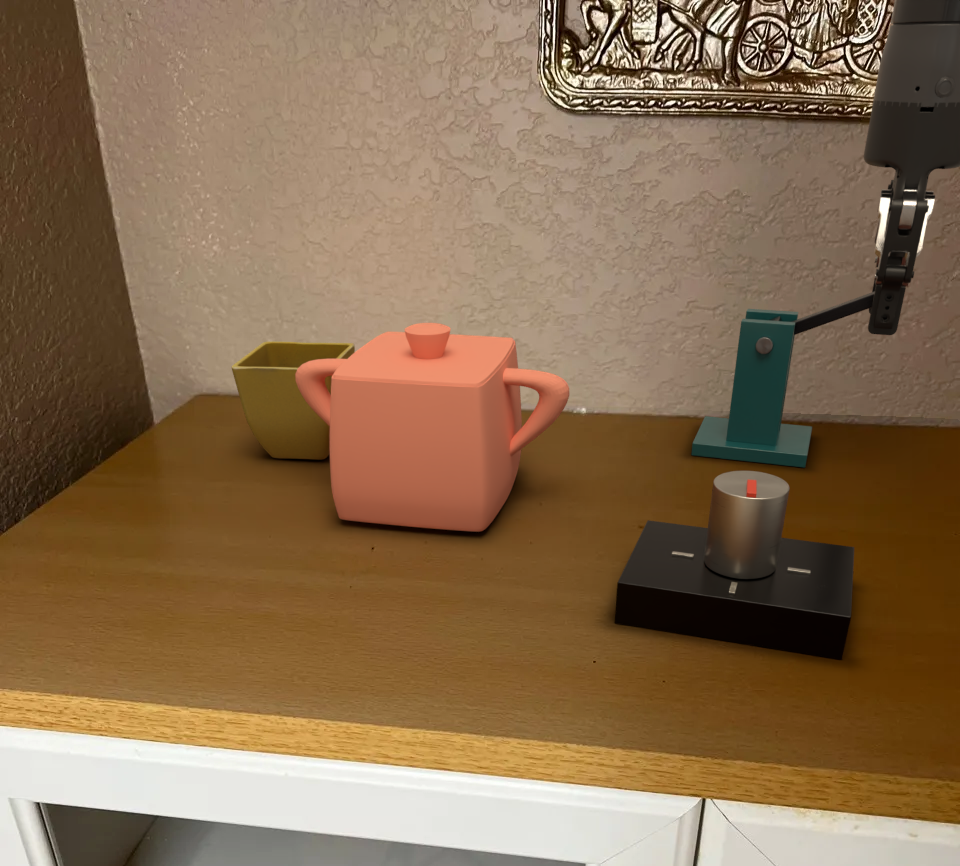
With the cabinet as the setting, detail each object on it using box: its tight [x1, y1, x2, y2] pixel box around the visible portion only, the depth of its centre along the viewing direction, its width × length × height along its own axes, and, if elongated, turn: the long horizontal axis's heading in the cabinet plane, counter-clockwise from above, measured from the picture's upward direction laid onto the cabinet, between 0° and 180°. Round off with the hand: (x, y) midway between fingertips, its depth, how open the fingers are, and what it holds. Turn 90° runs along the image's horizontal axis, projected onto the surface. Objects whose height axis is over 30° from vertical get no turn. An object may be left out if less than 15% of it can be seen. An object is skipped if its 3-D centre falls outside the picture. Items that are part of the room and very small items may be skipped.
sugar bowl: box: [295, 322, 570, 533], centre depth 80 cm, size 20×22×14 cm
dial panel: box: [614, 519, 855, 660], centre depth 64 cm, size 14×10×3 cm
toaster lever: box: [769, 291, 875, 336], centre depth 83 cm, size 12×6×2 cm, turn 71°
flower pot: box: [231, 341, 356, 461], centre depth 88 cm, size 9×9×9 cm
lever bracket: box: [690, 308, 813, 468], centre depth 88 cm, size 10×8×12 cm
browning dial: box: [704, 470, 790, 579], centre depth 62 cm, size 5×5×6 cm
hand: (881, 323), depth 82 cm, fingers closed on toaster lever, 6 cm apart
